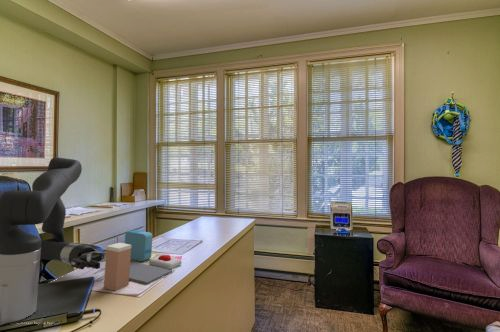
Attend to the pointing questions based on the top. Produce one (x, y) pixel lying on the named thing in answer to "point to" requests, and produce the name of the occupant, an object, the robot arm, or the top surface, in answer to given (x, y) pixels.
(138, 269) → the mat
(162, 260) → the red push button
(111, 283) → the block
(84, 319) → the top surface
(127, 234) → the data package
